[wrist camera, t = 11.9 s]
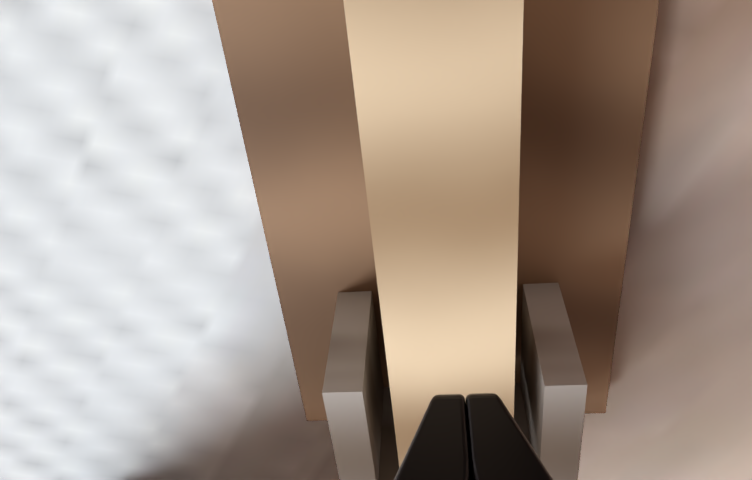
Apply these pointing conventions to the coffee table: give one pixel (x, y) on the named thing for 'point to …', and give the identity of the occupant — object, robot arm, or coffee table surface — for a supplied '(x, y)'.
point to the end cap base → (535, 225)
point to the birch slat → (441, 191)
